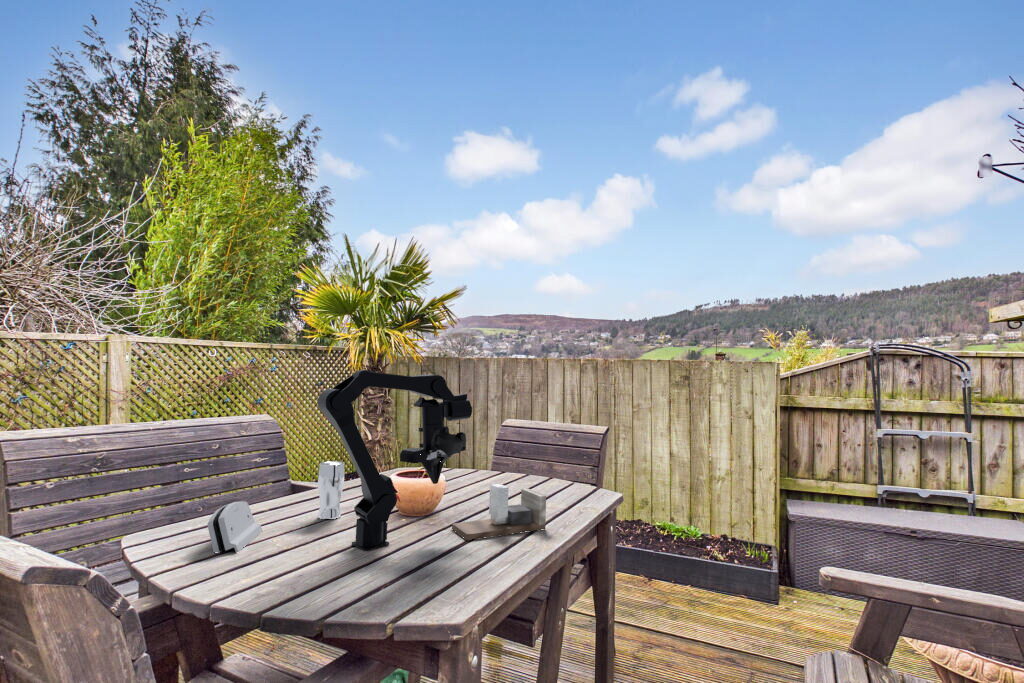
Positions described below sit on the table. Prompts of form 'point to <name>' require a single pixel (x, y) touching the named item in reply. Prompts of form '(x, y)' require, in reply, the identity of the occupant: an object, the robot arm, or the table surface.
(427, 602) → the table surface
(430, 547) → the table surface
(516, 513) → the plate
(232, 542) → the grey rounded panel block
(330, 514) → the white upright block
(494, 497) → the white l-shaped block
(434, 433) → the robot arm
